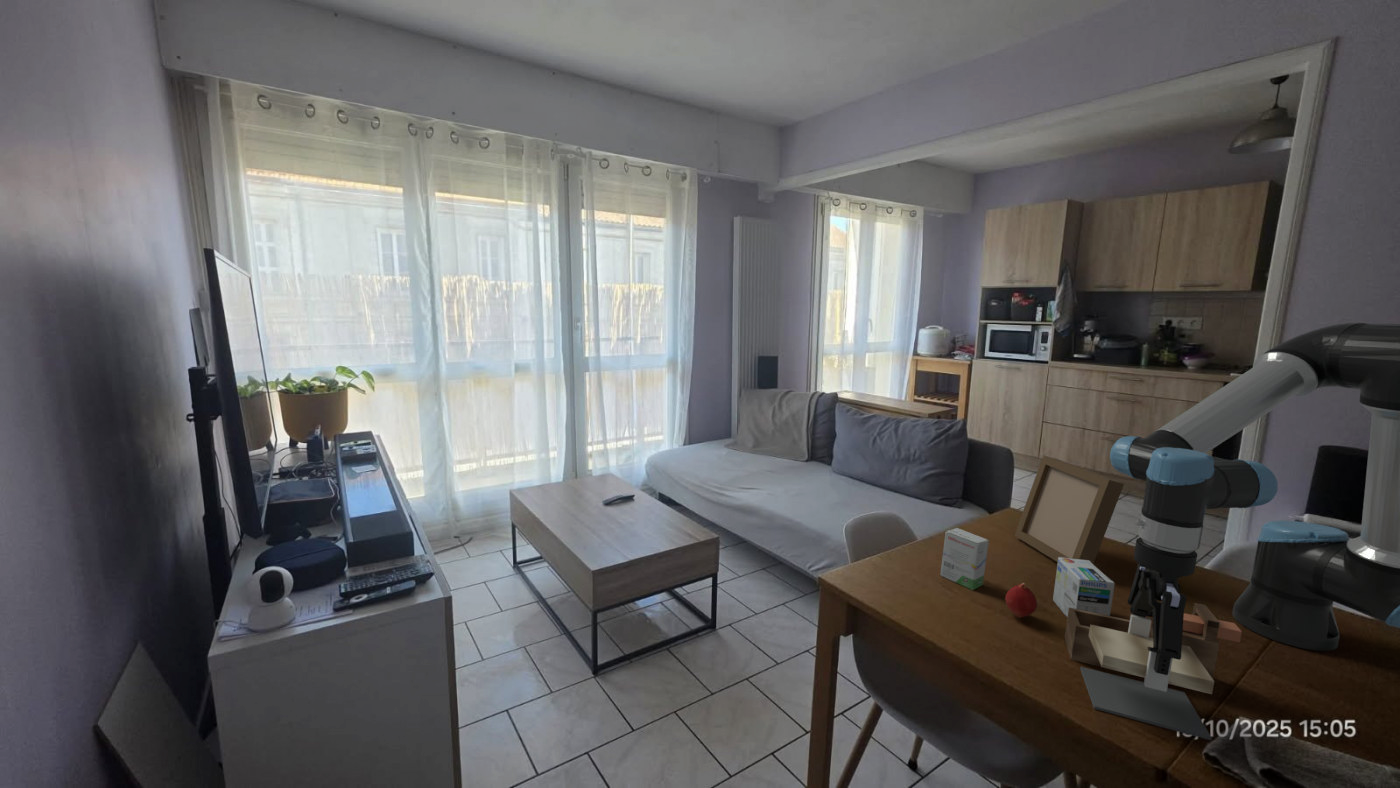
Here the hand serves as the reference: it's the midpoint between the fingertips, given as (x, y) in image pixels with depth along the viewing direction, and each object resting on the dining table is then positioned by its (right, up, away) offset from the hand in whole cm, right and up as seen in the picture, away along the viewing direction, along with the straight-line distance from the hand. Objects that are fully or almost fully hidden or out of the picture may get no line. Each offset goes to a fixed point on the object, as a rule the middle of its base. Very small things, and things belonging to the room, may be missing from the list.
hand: (1144, 668), depth 90 cm
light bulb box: (+8, -2, +27) cm, 28 cm away
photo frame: (+25, +2, +55) cm, 60 cm away
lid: (0, +1, 0) cm, 1 cm away
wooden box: (+7, -5, +11) cm, 13 cm away
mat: (0, -6, +1) cm, 6 cm away
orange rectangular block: (+15, +4, +5) cm, 17 cm away
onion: (-6, -2, +26) cm, 26 cm away
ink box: (-11, 0, +41) cm, 42 cm away
